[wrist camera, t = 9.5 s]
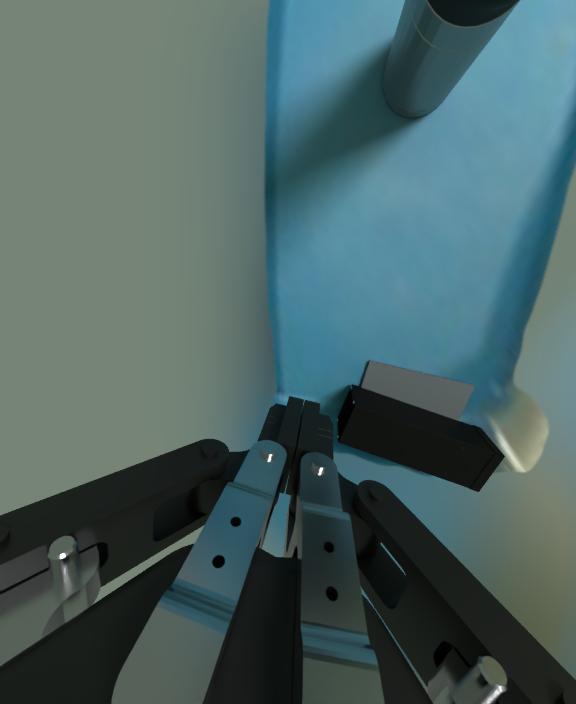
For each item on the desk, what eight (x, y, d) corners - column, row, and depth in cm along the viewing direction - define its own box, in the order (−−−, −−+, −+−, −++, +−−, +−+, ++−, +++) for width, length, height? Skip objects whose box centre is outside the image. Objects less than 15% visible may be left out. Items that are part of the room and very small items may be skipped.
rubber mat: (369, 360, 52) (369, 361, 51) (473, 384, 51) (475, 386, 50) (350, 416, 56) (351, 418, 56) (446, 440, 55) (447, 442, 54)
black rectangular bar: (337, 442, 49) (497, 499, 48) (354, 404, 46) (525, 463, 45) (336, 417, 56) (475, 466, 55) (351, 383, 53) (498, 433, 53)
